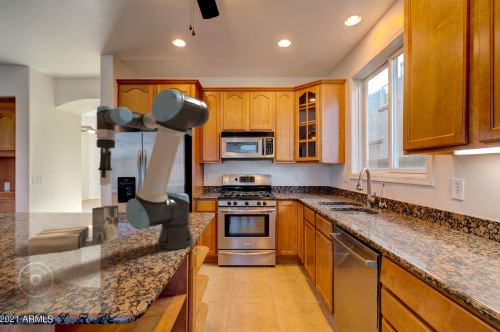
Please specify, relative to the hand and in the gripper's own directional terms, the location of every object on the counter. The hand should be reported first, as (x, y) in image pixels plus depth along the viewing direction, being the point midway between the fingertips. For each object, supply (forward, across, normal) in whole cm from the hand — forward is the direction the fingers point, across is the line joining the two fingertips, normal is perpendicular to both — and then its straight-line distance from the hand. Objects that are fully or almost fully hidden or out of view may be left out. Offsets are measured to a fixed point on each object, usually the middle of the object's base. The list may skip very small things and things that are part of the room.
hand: (105, 184), depth 112 cm
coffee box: (+27, 0, 0) cm, 27 cm away
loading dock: (+26, 0, -17) cm, 31 cm away
